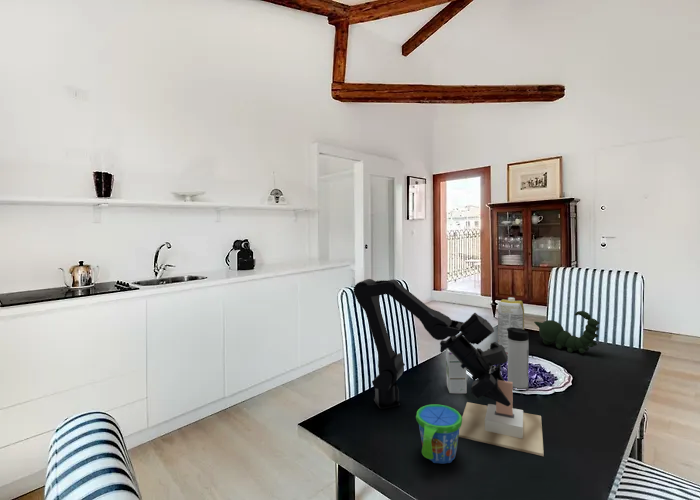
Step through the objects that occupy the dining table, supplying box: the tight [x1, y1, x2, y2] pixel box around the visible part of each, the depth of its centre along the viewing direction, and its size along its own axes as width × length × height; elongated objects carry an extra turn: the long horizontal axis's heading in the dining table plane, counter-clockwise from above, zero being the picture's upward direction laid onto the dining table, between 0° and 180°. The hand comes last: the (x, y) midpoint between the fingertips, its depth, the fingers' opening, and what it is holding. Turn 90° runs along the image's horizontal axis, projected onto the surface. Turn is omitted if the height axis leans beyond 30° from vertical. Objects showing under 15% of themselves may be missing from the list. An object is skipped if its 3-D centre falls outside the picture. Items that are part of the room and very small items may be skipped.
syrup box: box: [445, 349, 468, 395], centre depth 118 cm, size 6×6×14 cm
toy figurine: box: [533, 310, 600, 354], centre depth 151 cm, size 9×19×25 cm
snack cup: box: [415, 403, 463, 465], centre depth 85 cm, size 16×10×10 cm
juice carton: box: [497, 297, 525, 356], centre depth 144 cm, size 9×8×24 cm
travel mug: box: [507, 328, 529, 390], centre depth 118 cm, size 6×7×20 cm
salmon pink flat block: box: [495, 380, 514, 416], centre depth 95 cm, size 4×1×9 cm, turn 63°
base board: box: [458, 401, 545, 457], centre depth 96 cm, size 20×18×1 cm
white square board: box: [485, 403, 524, 439], centre depth 96 cm, size 9×9×3 cm
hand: (510, 399), depth 95 cm, fingers open, 6 cm apart
